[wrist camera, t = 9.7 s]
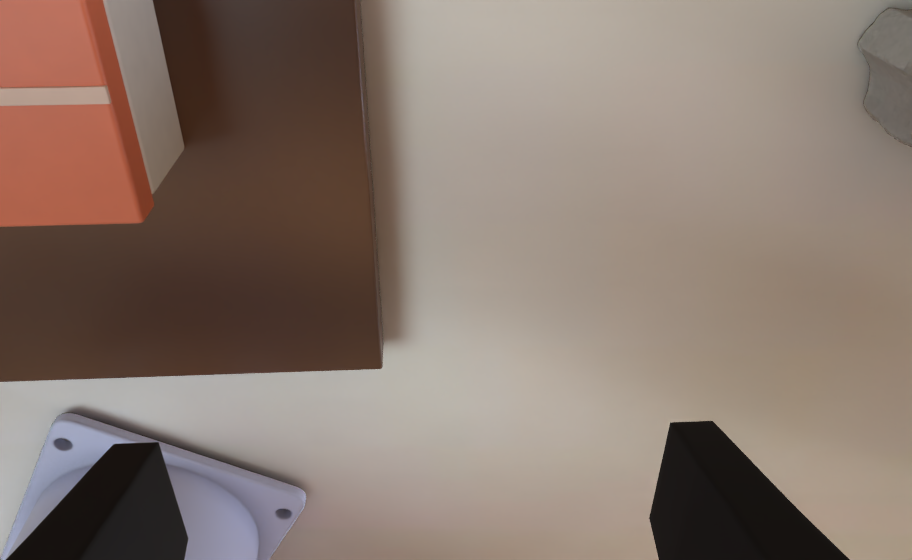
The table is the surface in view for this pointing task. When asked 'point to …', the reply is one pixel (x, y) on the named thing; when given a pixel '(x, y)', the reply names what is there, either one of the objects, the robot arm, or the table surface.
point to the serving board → (222, 217)
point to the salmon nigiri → (83, 112)
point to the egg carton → (890, 72)
